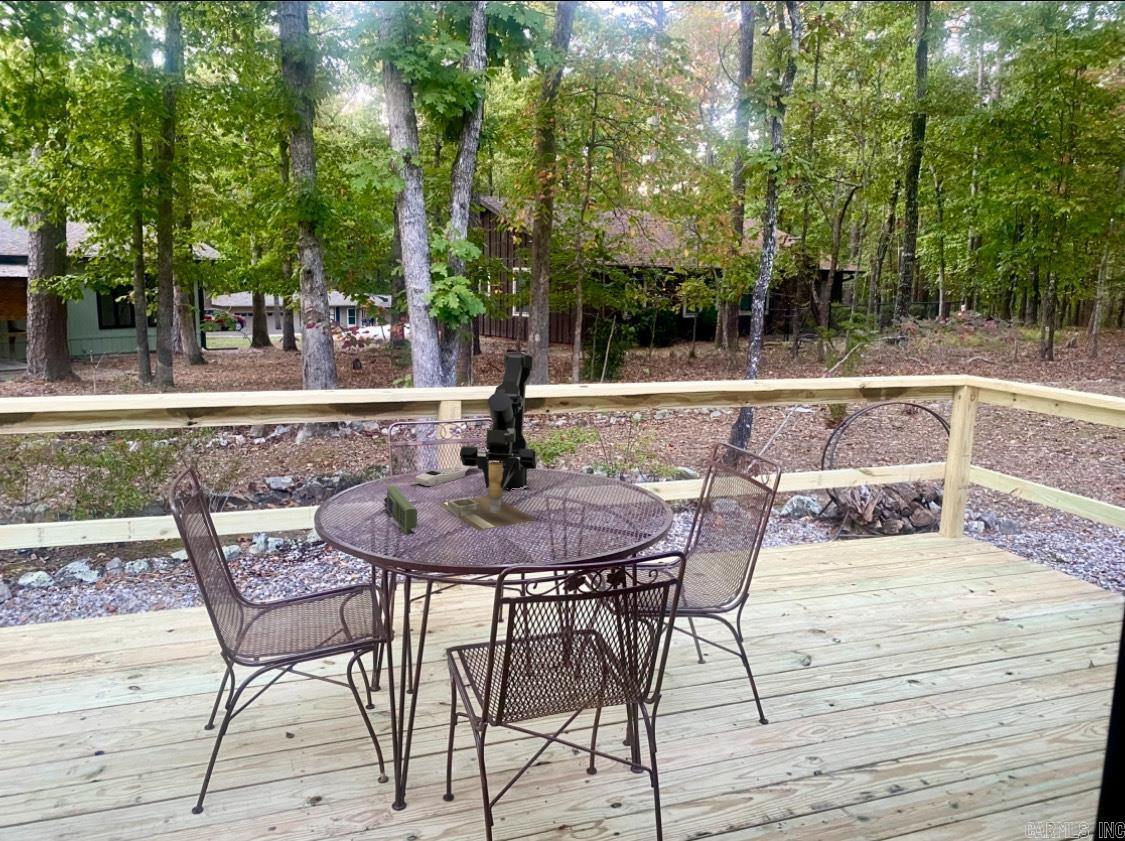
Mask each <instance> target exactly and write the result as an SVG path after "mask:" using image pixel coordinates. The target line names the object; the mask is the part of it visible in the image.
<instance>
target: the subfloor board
mask: <svg viewBox="0 0 1125 841" xmlns="http://www.w3.org/2000/svg"><path fill="white" fill-rule="evenodd" d="M438 505H439V506H440V507H441V508H443V509H445V510H446V511H448V512H450V513H451V514H453V515H454V516H456V518H458V519H460V520H462V521H463V522H464V523H466V524H467V525H469V526H470V527H472V528H473V529H474V530H477V531H478V532H479V531H485V530H489V529H495V528H499V527H505V526H509V525H514V524H515V525H516V524H520V523H525V522H530V521H535V520H536V518H533V517H532V516H530V515H528V514H527V513H526V512H523V511H522V510H520V509H518V508H516V507H515V506H512V505H511V504H509V503H507V502H505V501H503V500H502V499H501V512H498V513H492V512H490V496H489V494H488V495H481V496H477V497H476V496H475V497H463V498H458V499H452V500H447V501H446V502H442V503H441V502H439V503H438Z"/></svg>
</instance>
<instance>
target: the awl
mask: <svg viewBox="0 0 1125 841" xmlns="http://www.w3.org/2000/svg"><path fill="white" fill-rule="evenodd" d="M488 463H489V486H488V495H489V496H490V512H492V513H498V512H501V500H502V497H503V490H504V489H502V488H501V485H502V479H503V463H500V462H499V461H492V462H488Z"/></svg>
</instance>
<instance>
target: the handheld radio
mask: <svg viewBox="0 0 1125 841" xmlns="http://www.w3.org/2000/svg"><path fill="white" fill-rule="evenodd" d="M383 501H384V503H385V504H386V510H387V512H388V513H389V515H390V516H391V517H392V518H393V520H394V521H395V522H396V524H397V525H398V526H399V527H400V528H401V530H402V531H403V532H404V534H405V535H414V534H416V532H414V531H413V530H412V529H413V528H414V529H415V528H417V526H418V510H417V508H416V507H415V506H414V505H413V503H411V501H410V500H408V499H407V497H406V496H405V494H403V493H402V491H400V490H399V489H398V487H397V486H395V485H392V484H391V485H390V484H389V485H388V487H387V490H386V497H385V498H384V499H383Z"/></svg>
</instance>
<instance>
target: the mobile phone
mask: <svg viewBox="0 0 1125 841" xmlns="http://www.w3.org/2000/svg"><path fill="white" fill-rule="evenodd" d="M471 468H472V466H464V465H463V464H462V461H461V460H460V461H459V462H458V463H457V464H456V465H455V466H451V467H448V468H443V469H438V470H430V471H426V472H422V473H421V474H418V475H416V476H415V481H413V482H409V485H410V486H415V485H423V486H426V487H431V486H432V487H433V485H434V486H438V485H441V483H442V484H444V482H445V483H449V482H452V481H456V480H458V479H457V478H459V479H462V478H461V477H463V478H465V477H466V476H465V475H466V473H467V471H469V470H470V469H471ZM455 479H456V480H455ZM448 481H449V482H448Z"/></svg>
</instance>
